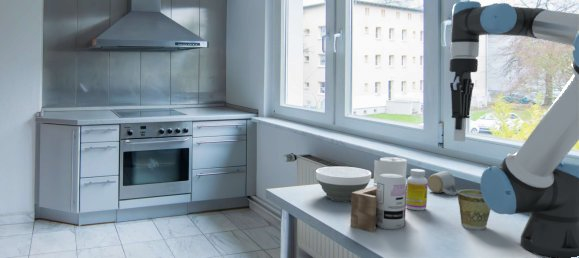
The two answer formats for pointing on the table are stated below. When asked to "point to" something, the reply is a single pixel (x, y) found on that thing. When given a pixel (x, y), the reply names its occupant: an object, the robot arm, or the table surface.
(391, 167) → the toilet tissue
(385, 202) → the supplement can
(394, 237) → the table surface
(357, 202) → the wooden bridge block
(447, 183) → the ceramic mug
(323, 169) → the bowl
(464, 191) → the ceramic cup
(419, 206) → the supplement bottle
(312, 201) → the table surface
